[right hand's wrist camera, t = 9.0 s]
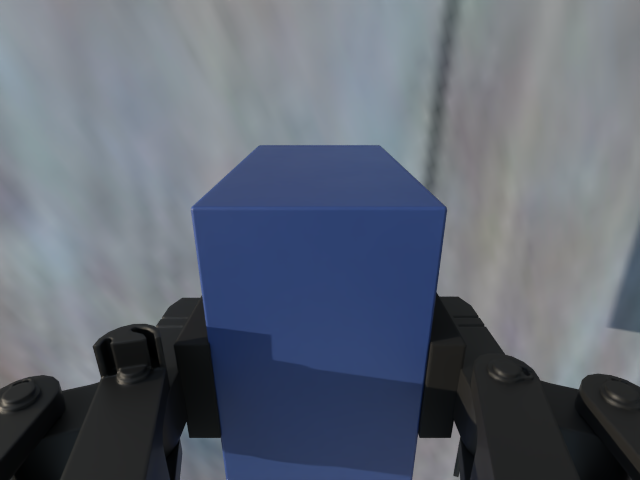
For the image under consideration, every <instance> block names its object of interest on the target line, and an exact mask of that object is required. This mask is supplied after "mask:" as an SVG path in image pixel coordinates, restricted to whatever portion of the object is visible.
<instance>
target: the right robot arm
mask: <svg viewBox="0 0 640 480" xmlns="http://www.w3.org/2000/svg"><path fill="white" fill-rule="evenodd" d="M93 349H94V353H95V356H96V360H97V364H98V368H99V371H100V375H101V380H100V382H98V383H95V384H91V385H87V386H83V387H78V388H74V389H69V390H64V391H62V390H61V387H60V384H59V381H58V380H56V379H55V378H54V377H51V376H45V375H41V376H33V377H28V378H24V379H22V380H18V381H15V382H13V383H11V384H9V385H7V386H5V387H3V388H2V389H0V480H180V471H181V461H182V448H181V442H180V436H181V434H182V431H183V429H184V426H185V424H186V422H187V426H188V432H189V438H221V427H220V419H219V412H218V404H217V396H216V389H215V381H214V373H213V366H212V358H211V350H210V343H209V342H208V335H207V328H206V320H205V313H204V305H203V297H202V296H201V298H181V299H180V300H179V301H177V302H176V303H174V304H173V305H171V306H170V307H169V308H168V310H167V311H166V312H165V314H164V315H163V317H162V319H161V320H160V321H159V323H158V324H157V325H156V327H155V326H152V325H148V324H132V325H128V326H123V327H120V328H117V329H115V330H113V331H110V332H108V333H107V334H105V335H104V336H102V337H101V338H99V339H98V341H97V342H96V343H95V344H94V346H93ZM453 422H455V424H456V426H457V429H458V431H459V434H460V436H461V437H460V442H459V447H458V453H457V458H456V463H455V469H454V476H456V477H458V476H459V471H460V480H640V387H639V386H637V385H635V384H633V383H631V382H629V381H627V380H624V379H622V378H618V377H615V376H612V375H604V374H593V375H587V376H586V377H585V378H584V379H583V380H582V382H581V385H580V388H579V389H574V388H569V387H565V386H560V385H556V384H551V383H547V382H544V381H540V379H539V377H538V376H537V374H536V373H535V371H534V370H533V369H532V368H531V367H529V366H528V365H527V364H526V363H524V362H523V361H520V360H518V359H516V358H514V357H512V356H508V355H505V353H504V352H503V351H502V349H501V348H500V346H499V345H498V343H497V342H496V341H495V339H494V338H493V336H492V335H491V333H490V332H489V331H488V329H487V328H486V327H484V323H483V322H482V321H481V319H480V318H478V315H477V313H476V312H475V311H474V309H473V308H472V306H471V305H469V304H468V303H467V302H465V301H464V300H462V299H461V298H459V297H439V296H438V294H437V292H436V299H435V306H434V314H433V322H432V330H431V337H430V345H429V353H428V360H427V368H426V376H425V383H424V391H423V399H422V407H421V414H420V422H419V430H418V434H419V437H420V438H451V433H452V428H453Z"/></svg>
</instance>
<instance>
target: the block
mask: <svg viewBox="0 0 640 480" xmlns="http://www.w3.org/2000/svg"><path fill="white" fill-rule="evenodd" d="M191 213H192V221H193V229H194V236H195V244H196V252H197V259H198V267H199V274H200V282H201V290H202V297H203V305H204V313H205V320H206V328H207V335H208V342H209V343H210V350H211V358H212V366H213V373H214V381H215V389H216V396H217V404H218V412H219V419H220V427H221V442H222V450H223V457H224V465H225V472H226V480H412V476H413V468H414V460H415V453H416V445H417V437H418V430H419V422H420V414H421V407H422V399H423V391H424V383H425V376H426V368H427V360H428V353H429V345H430V337H431V330H432V322H433V314H434V306H435V299H436V291H437V283H438V276H439V268H440V260H441V253H442V245H443V237H444V230H445V222H446V214H447V208H446V206H444V205H443V204H442V203H441V202H440V201H439V200H438V199H437V198H436V197H435V196H434V195H433V194H432V193H430V192H429V191H428V190H427V189H426V188H425V187H424V186H423V185H422V184H421V183H420V182H419V181H418V180H416V179H415V178H414V177H413V176H412V175H411V174H410V173H409V172H408V171H407V170H406V169H405V168H404V167H403V166H401V165H400V164H399V163H398V162H397V161H396V160H395V159H394V158H393V157H392V156H391V155H390V154H389V153H387V152H386V151H385V150H384V149H383V148H382V147H381V146H379V145H260V146H258V147H257V148H256V149H255V150H254V151H253V152H251V153H250V154H249V155H248V156H247V157H246V158H245V159H244V160H243V161H242V162H241V163H239V164H238V165H237V166H236V167H235V168H234V169H233V170H232V171H231V172H230V173H229V174H227V175H226V176H225V177H224V178H223V179H222V180H221V181H220V182H219V183H218V184H216V185H215V186H214V187H213V188H212V189H211V190H210V191H209V192H208V193H207V194H206V195H204V196H203V197H202V198H201V199H200V200H199V201H198V202H197V203H196V204H195V205H194V206H192V208H191Z"/></svg>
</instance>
